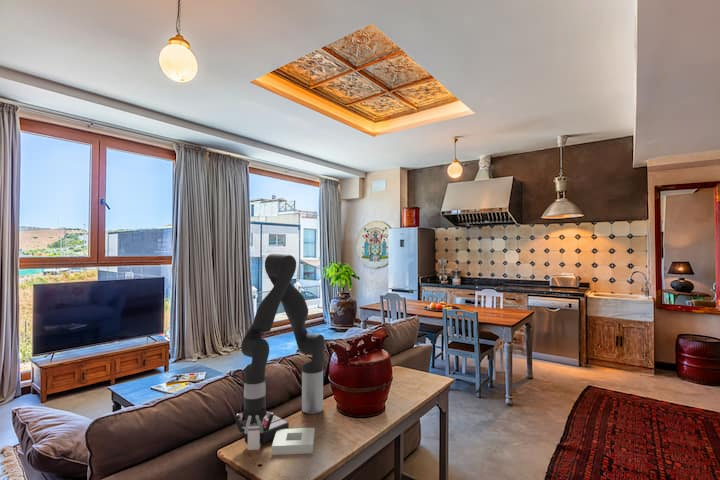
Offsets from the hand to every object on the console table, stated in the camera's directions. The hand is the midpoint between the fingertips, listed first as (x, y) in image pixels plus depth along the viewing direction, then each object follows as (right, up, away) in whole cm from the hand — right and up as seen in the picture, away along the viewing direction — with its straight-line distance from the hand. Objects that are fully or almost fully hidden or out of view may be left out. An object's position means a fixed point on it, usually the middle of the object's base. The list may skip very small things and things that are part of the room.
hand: (254, 442), depth 129 cm
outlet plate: (+14, -1, +1) cm, 14 cm away
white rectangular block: (0, -1, 0) cm, 1 cm away
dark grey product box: (+1, -2, +11) cm, 11 cm away
